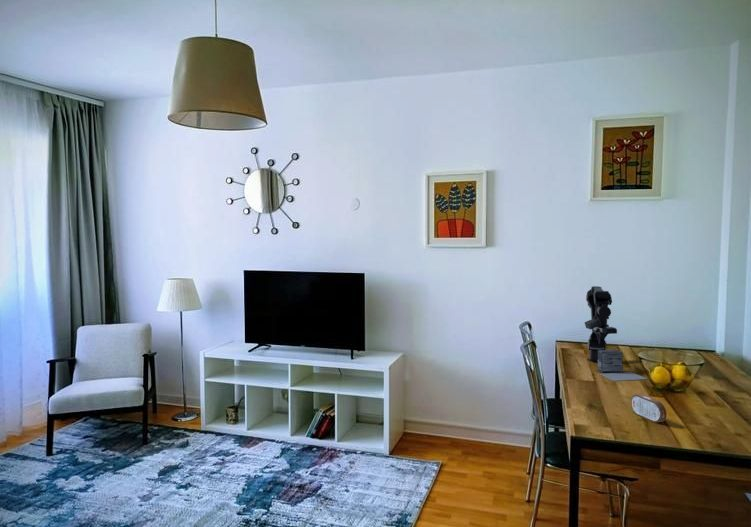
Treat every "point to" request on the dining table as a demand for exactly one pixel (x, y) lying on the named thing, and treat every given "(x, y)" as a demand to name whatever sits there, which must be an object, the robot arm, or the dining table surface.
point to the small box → (610, 361)
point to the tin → (648, 408)
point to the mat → (623, 376)
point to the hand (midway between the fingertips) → (600, 343)
